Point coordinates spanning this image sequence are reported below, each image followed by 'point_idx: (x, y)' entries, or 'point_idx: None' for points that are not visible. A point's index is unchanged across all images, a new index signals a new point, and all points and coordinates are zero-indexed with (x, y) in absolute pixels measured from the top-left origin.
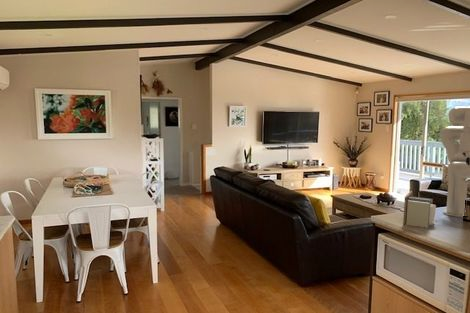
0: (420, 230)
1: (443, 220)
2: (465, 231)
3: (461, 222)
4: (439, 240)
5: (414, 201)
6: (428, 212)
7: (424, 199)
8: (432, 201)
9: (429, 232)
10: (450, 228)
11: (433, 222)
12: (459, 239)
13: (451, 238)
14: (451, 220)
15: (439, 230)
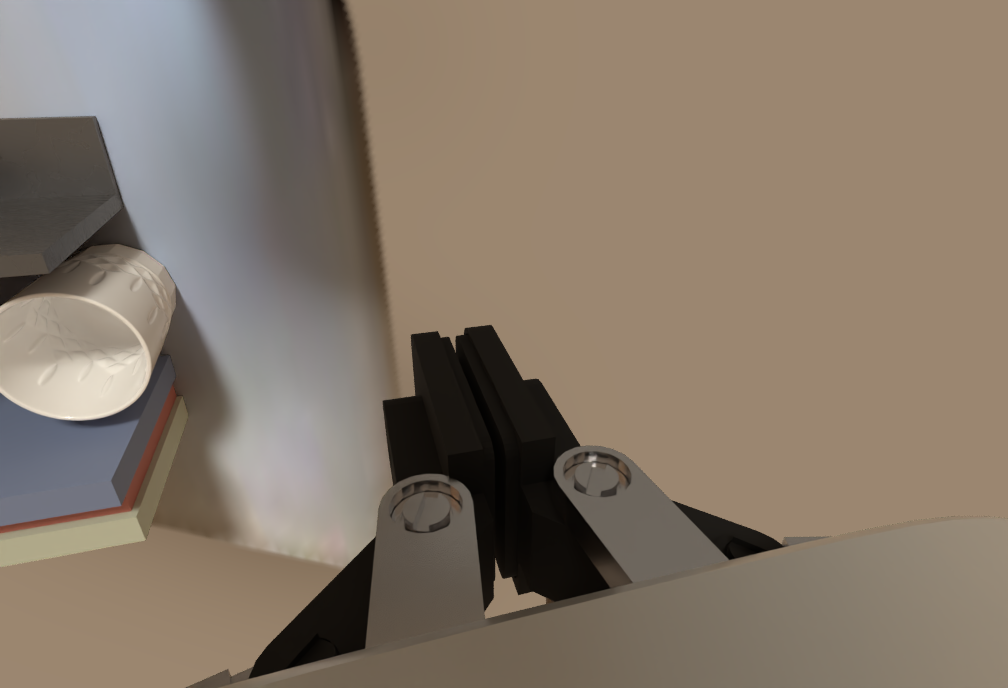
0: (175, 483)
1: (200, 125)
2: (392, 330)
3: (335, 97)
4: (312, 556)
5: (7, 558)
6: (163, 487)
7: (63, 510)
8: (53, 249)
9: (231, 483)
10: (305, 326)
11: (174, 293)
12: (385, 485)
13: (351, 496)
14: (254, 78)
15: (263, 412)
